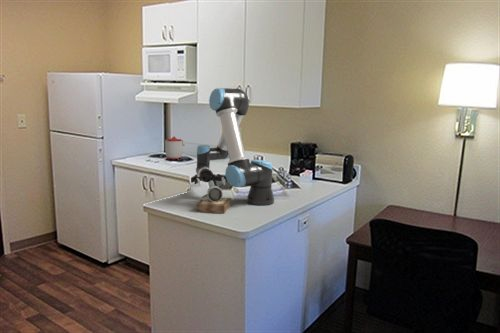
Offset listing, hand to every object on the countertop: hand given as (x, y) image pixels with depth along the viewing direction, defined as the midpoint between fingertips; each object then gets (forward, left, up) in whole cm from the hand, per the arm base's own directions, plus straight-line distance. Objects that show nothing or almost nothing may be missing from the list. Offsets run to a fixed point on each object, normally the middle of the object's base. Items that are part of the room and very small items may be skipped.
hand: (212, 182), depth 217 cm
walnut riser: (-3, +6, -12) cm, 14 cm away
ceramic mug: (-2, +6, -8) cm, 10 cm away
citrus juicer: (+70, -133, -12) cm, 150 cm away
